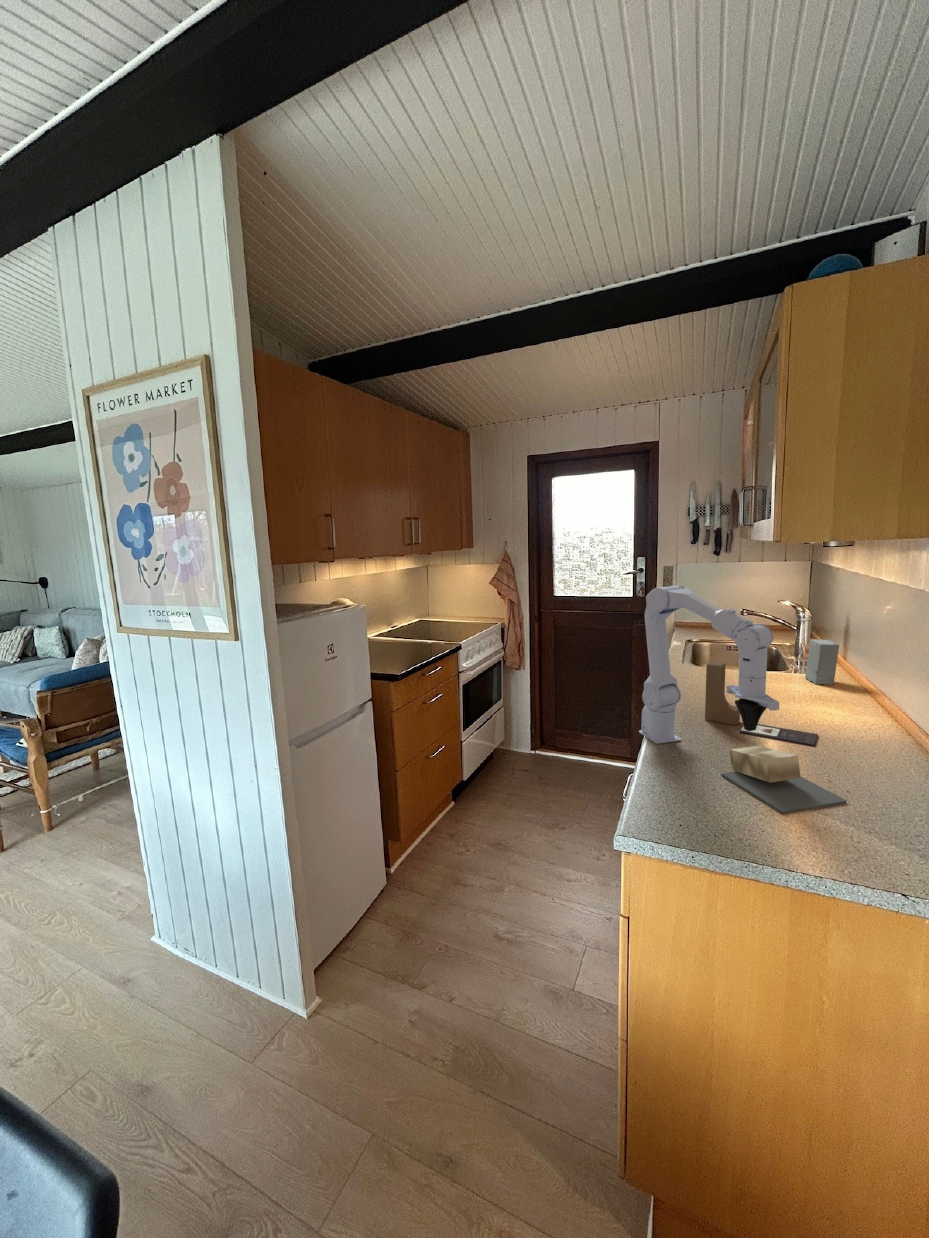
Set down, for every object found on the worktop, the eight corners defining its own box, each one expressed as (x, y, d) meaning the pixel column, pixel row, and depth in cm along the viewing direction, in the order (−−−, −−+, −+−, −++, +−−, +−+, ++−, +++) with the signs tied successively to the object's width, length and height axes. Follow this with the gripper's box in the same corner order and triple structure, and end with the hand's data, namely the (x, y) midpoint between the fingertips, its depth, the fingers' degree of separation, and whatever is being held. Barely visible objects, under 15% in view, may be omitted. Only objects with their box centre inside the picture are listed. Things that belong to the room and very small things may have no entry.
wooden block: (739, 721, 155) (742, 664, 152) (736, 725, 151) (738, 668, 148) (708, 715, 160) (710, 661, 158) (704, 720, 157) (706, 664, 154)
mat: (721, 775, 121) (721, 773, 121) (778, 766, 124) (778, 764, 124) (782, 814, 103) (782, 811, 103) (846, 802, 107) (846, 800, 106)
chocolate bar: (814, 744, 134) (739, 731, 146) (814, 748, 135) (739, 734, 146) (817, 734, 141) (746, 721, 153) (817, 737, 141) (745, 724, 153)
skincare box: (804, 678, 195) (807, 639, 192) (825, 678, 193) (827, 638, 191) (815, 685, 186) (818, 643, 184) (837, 685, 185) (840, 643, 183)
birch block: (729, 749, 123) (767, 759, 111) (757, 745, 125) (798, 755, 113) (731, 769, 123) (769, 782, 111) (760, 765, 124) (800, 777, 113)
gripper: (716, 669, 126) (714, 721, 128) (761, 685, 112) (758, 742, 114) (740, 667, 127) (738, 718, 129) (788, 682, 113) (785, 739, 115)
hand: (750, 729), depth 121 cm, fingers closed
